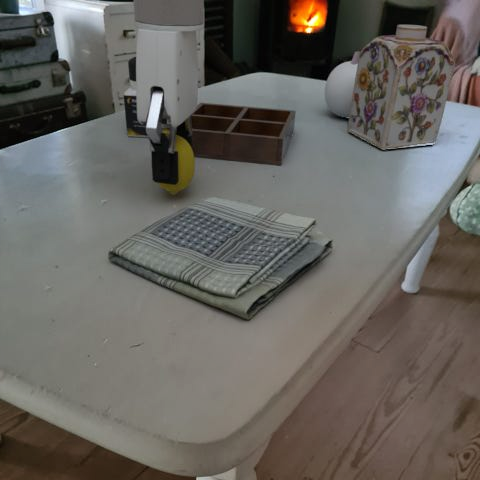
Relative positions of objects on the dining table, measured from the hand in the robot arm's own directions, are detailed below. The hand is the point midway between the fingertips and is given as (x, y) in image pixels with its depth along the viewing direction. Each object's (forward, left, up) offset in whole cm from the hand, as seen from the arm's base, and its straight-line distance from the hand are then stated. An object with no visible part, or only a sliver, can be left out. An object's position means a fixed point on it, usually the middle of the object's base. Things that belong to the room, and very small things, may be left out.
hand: (173, 172), depth 67 cm
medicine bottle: (-13, +27, -4) cm, 30 cm away
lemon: (0, 0, -3) cm, 3 cm away
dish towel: (+10, -14, -4) cm, 18 cm away
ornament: (+21, +49, -4) cm, 54 cm away
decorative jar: (+29, +36, -4) cm, 47 cm away
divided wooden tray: (+3, +25, -3) cm, 25 cm away
